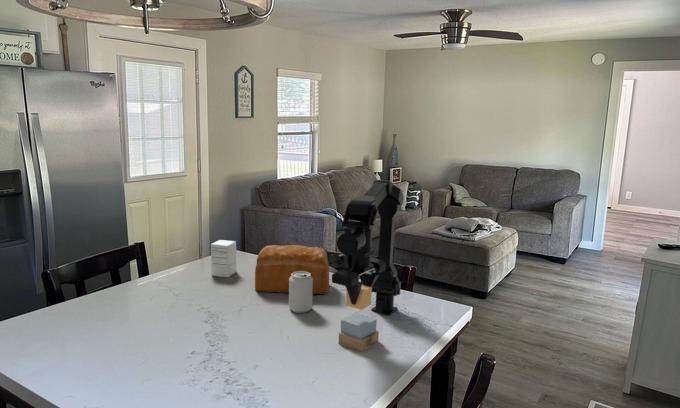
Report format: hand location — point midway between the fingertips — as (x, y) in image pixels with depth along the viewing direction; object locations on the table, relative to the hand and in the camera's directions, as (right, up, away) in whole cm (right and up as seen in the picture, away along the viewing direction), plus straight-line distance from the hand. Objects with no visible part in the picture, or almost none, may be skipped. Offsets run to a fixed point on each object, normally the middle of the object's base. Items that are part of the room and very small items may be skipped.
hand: (358, 301), depth 136 cm
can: (-18, -8, +24) cm, 31 cm away
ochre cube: (0, -1, 0) cm, 1 cm away
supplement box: (-50, -1, +58) cm, 77 cm away
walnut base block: (0, -12, +2) cm, 12 cm away
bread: (-22, -4, +44) cm, 50 cm away
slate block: (0, -9, +2) cm, 9 cm away
